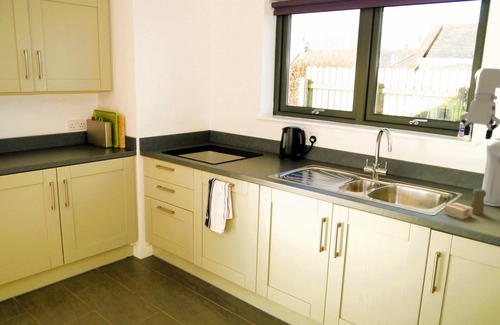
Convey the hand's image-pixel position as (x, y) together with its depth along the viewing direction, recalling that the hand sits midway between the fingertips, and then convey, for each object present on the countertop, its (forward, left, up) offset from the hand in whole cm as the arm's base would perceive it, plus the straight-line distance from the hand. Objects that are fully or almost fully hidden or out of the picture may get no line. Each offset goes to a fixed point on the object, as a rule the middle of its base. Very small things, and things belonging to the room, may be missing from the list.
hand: (476, 137), depth 185 cm
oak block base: (+9, +2, -34) cm, 35 cm away
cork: (-2, +4, -34) cm, 35 cm away
